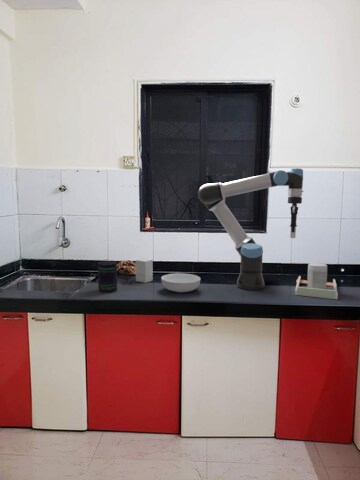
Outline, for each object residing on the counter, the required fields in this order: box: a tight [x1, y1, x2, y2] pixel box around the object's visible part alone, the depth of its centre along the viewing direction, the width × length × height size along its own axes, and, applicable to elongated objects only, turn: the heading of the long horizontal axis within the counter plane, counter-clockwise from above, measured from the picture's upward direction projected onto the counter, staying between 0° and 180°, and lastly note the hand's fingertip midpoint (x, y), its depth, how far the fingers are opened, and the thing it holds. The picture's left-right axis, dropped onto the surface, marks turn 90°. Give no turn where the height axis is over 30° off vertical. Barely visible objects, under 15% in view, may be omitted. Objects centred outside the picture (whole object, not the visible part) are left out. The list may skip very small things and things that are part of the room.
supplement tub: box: [306, 262, 328, 289], centre depth 186 cm, size 10×10×15 cm
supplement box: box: [135, 258, 154, 284], centre depth 206 cm, size 7×7×13 cm
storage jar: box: [97, 260, 118, 294], centre depth 185 cm, size 10×10×15 cm
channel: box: [294, 275, 339, 300], centre depth 193 cm, size 20×34×4 cm, turn 158°
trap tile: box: [295, 279, 338, 287], centre depth 205 cm, size 22×7×1 cm, turn 68°
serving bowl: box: [160, 272, 201, 293], centre depth 187 cm, size 21×21×7 cm
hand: (292, 237), depth 202 cm, fingers closed
